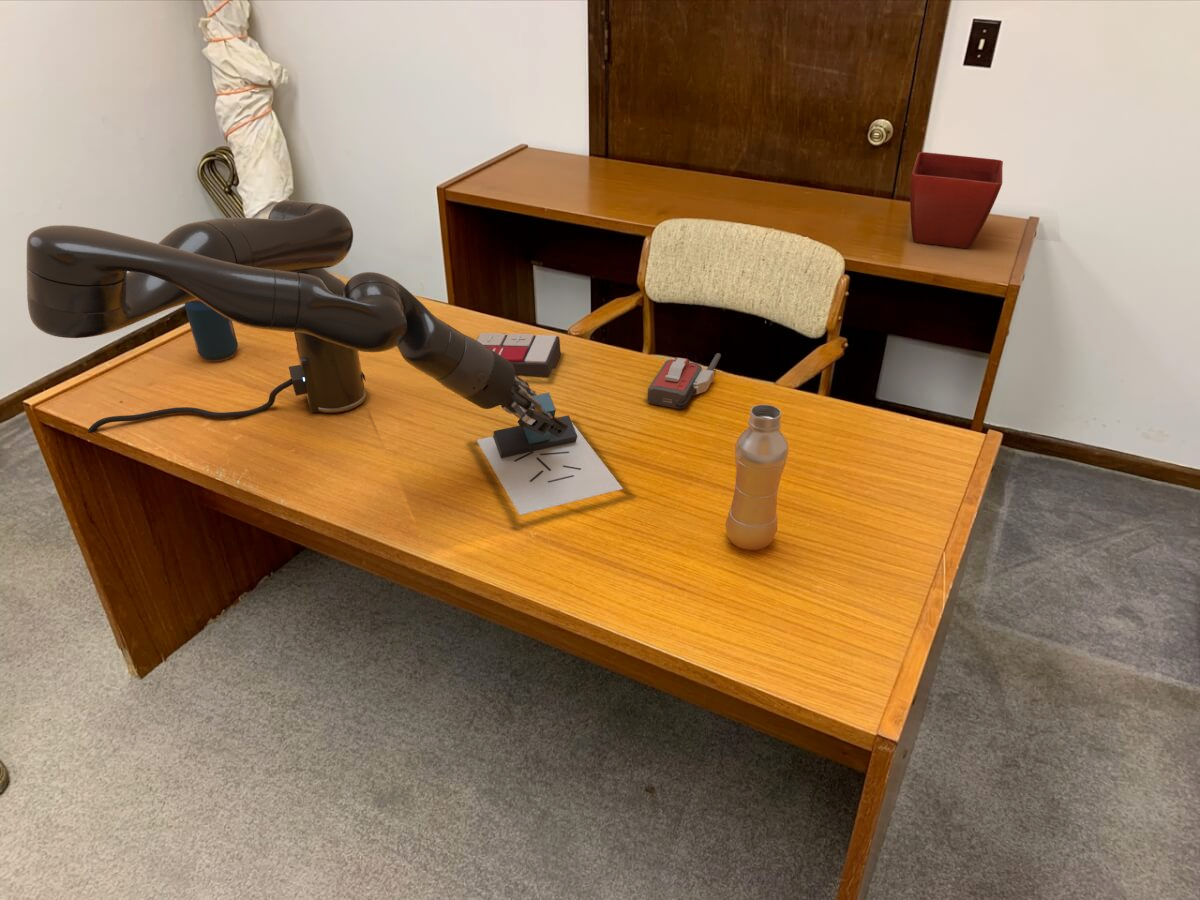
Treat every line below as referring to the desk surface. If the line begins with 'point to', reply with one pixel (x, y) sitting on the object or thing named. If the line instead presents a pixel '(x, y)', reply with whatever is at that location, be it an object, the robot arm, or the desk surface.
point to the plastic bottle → (757, 479)
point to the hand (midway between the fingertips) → (556, 421)
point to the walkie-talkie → (680, 382)
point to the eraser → (533, 434)
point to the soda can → (211, 332)
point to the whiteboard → (550, 474)
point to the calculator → (525, 351)
